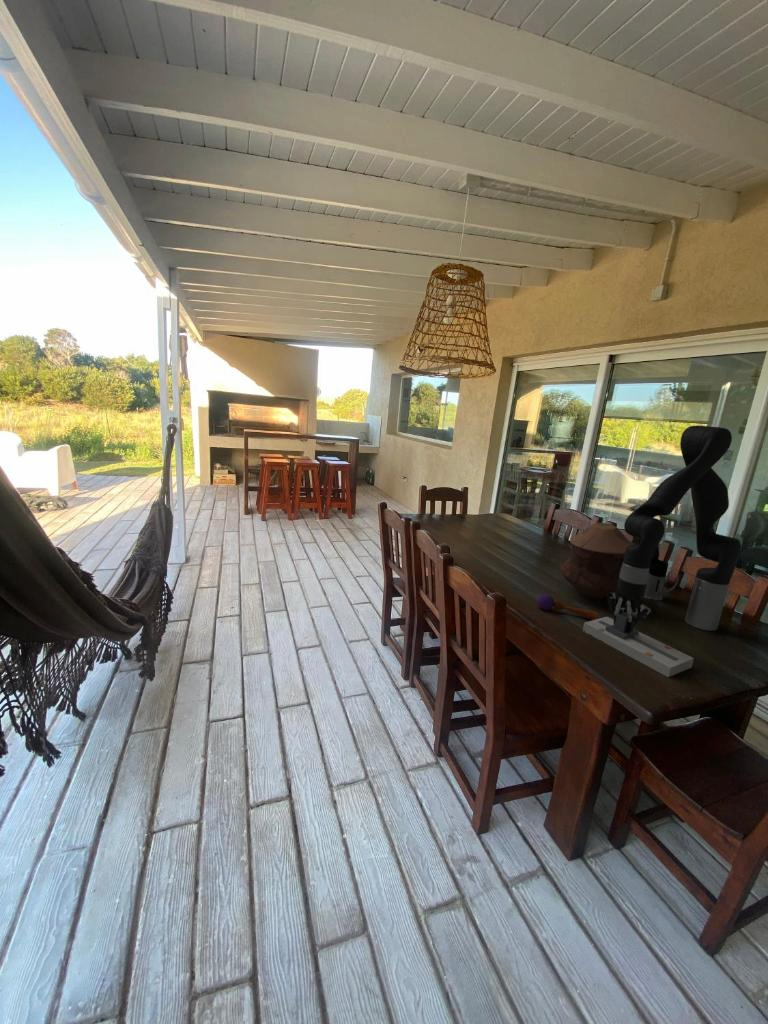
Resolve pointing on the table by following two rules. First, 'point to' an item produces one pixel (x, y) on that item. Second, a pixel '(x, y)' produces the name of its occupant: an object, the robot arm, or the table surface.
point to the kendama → (562, 606)
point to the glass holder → (657, 579)
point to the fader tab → (621, 627)
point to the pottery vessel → (596, 560)
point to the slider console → (641, 648)
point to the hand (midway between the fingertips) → (622, 628)
